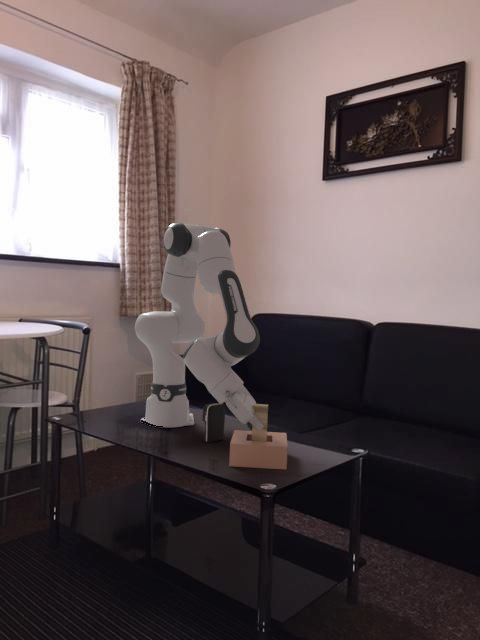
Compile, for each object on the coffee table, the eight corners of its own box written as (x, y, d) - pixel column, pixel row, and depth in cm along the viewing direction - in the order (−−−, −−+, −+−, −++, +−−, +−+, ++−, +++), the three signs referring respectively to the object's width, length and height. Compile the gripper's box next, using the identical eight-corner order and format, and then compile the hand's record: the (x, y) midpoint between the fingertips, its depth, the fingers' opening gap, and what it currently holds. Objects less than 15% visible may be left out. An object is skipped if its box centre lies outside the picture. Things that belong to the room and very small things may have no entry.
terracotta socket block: (233, 450, 156) (234, 430, 156) (285, 453, 155) (286, 432, 155) (229, 466, 141) (230, 443, 141) (286, 469, 140) (287, 446, 140)
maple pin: (251, 446, 150) (253, 403, 149) (266, 447, 150) (268, 404, 149) (251, 450, 146) (253, 406, 145) (266, 451, 146) (267, 407, 145)
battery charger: (216, 437, 171) (217, 401, 170) (224, 439, 168) (226, 403, 167) (199, 440, 166) (201, 403, 165) (207, 443, 163) (209, 405, 163)
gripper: (233, 387, 137) (270, 427, 137) (239, 376, 158) (270, 411, 157) (215, 403, 138) (252, 443, 137) (223, 390, 158) (255, 425, 158)
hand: (262, 426), depth 147 cm, fingers closed on maple pin, 4 cm apart
